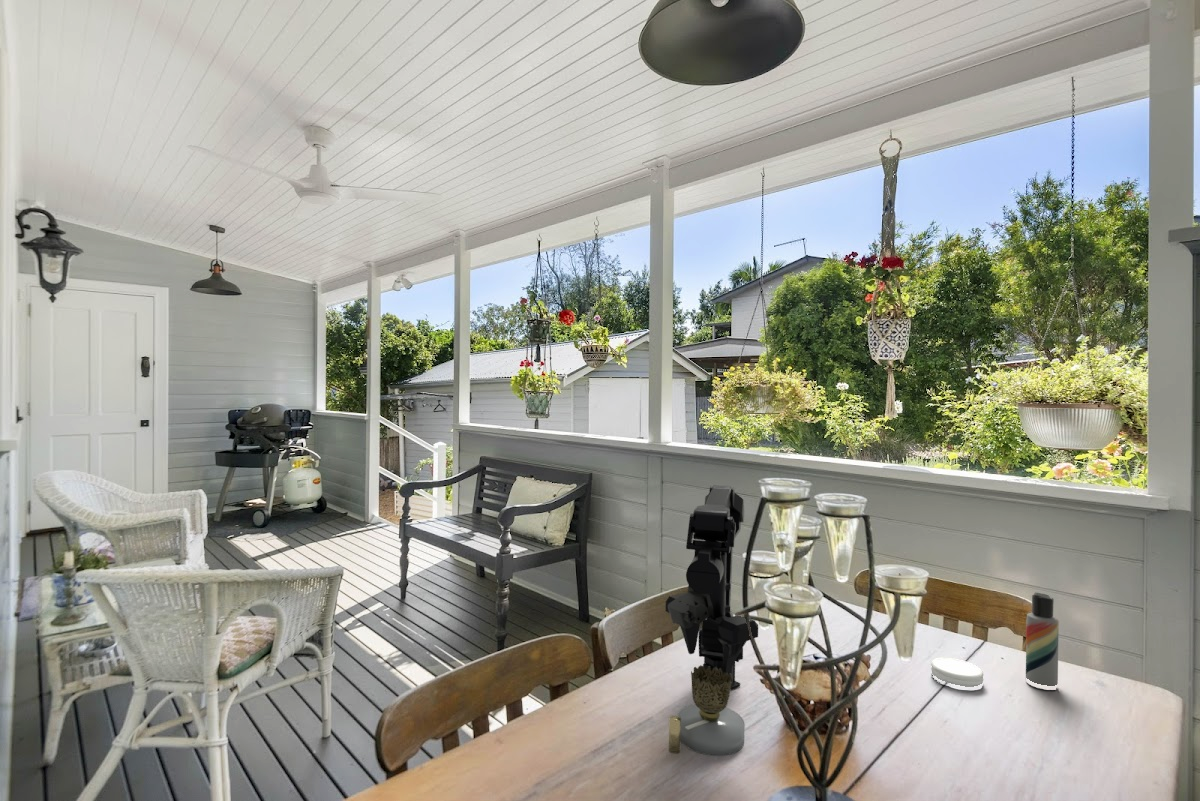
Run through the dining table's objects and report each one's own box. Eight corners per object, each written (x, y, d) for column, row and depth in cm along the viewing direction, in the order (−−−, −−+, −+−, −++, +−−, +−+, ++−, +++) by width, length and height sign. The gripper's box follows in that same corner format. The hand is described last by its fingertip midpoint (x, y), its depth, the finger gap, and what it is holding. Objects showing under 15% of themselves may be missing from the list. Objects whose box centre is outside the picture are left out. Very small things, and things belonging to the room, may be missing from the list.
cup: (723, 732, 105) (725, 685, 105) (682, 720, 108) (685, 675, 108) (734, 715, 111) (737, 671, 111) (696, 704, 115) (698, 661, 115)
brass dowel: (675, 745, 106) (675, 714, 106) (682, 751, 104) (683, 719, 104) (666, 749, 105) (666, 717, 105) (673, 755, 103) (674, 722, 103)
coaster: (928, 683, 132) (928, 667, 132) (933, 668, 141) (933, 653, 141) (982, 697, 127) (982, 680, 127) (984, 679, 135) (984, 664, 135)
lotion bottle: (1025, 677, 136) (1027, 588, 136) (1057, 684, 133) (1058, 593, 133) (1025, 686, 132) (1026, 594, 132) (1058, 694, 128) (1059, 600, 128)
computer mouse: (711, 713, 117) (711, 696, 117) (758, 742, 107) (758, 724, 107) (663, 730, 111) (663, 713, 111) (709, 763, 101) (709, 744, 101)
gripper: (644, 571, 114) (642, 653, 114) (714, 599, 98) (712, 695, 98) (688, 563, 120) (686, 641, 120) (761, 588, 104) (759, 678, 104)
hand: (708, 662), depth 110 cm, fingers open, 9 cm apart
